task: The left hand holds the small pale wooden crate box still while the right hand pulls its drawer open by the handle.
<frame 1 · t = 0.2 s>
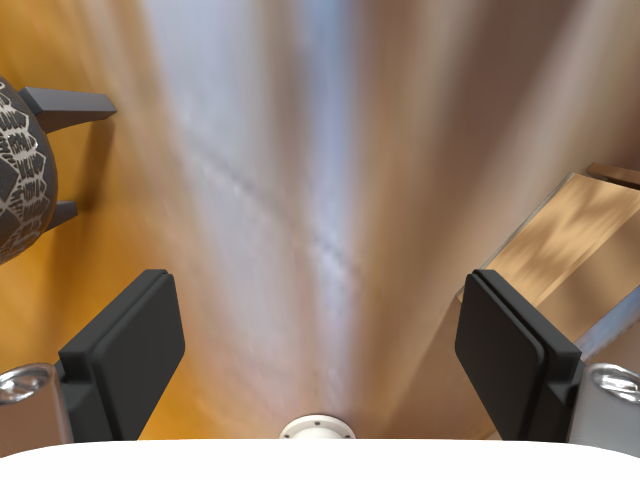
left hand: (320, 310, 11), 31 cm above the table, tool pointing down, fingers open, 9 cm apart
planter: (53, 141, 39), on the table
drawer: (592, 233, 38), point 5 cm above the table, slide at 0.8 cm
wooden crate box: (527, 251, 44), on the table
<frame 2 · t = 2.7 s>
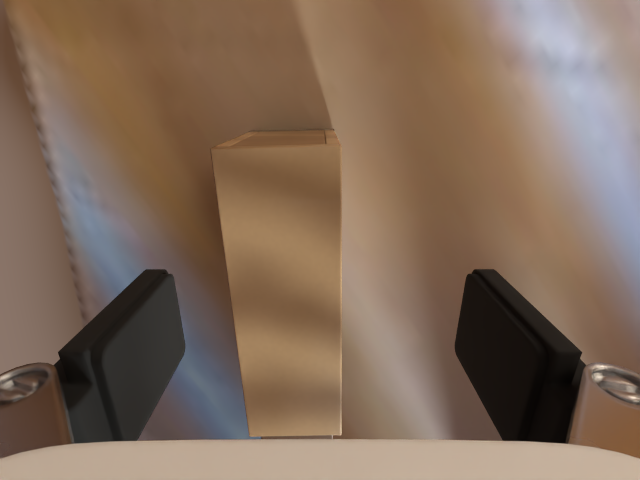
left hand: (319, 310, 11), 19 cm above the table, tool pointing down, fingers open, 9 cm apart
drawer: (296, 334, 28), point 5 cm above the table, slide at 0.8 cm
wooden crate box: (297, 246, 31), on the table
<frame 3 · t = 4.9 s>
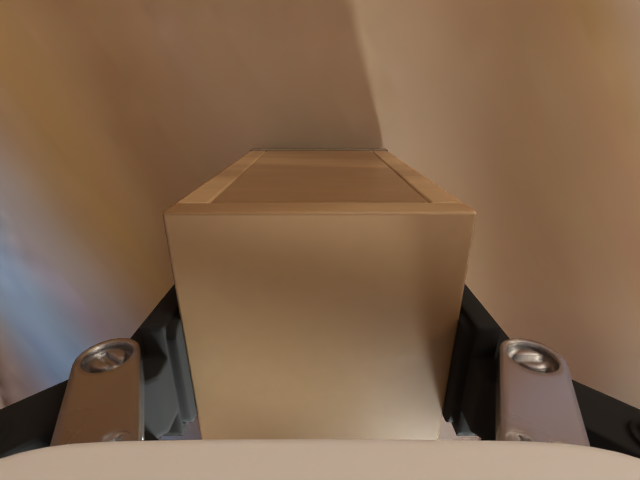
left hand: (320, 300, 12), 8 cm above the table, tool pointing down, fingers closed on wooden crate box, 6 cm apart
wooden crate box: (319, 318, 21), on the table, touching left hand
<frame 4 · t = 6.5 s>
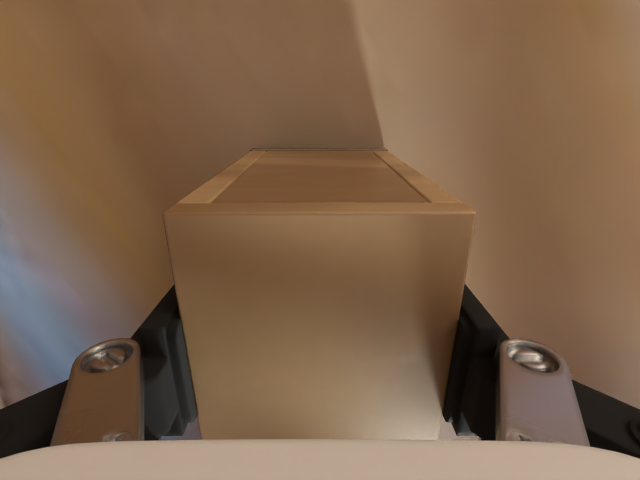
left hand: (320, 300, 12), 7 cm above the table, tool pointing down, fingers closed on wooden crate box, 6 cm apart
wooden crate box: (319, 318, 21), on the table, touching left hand
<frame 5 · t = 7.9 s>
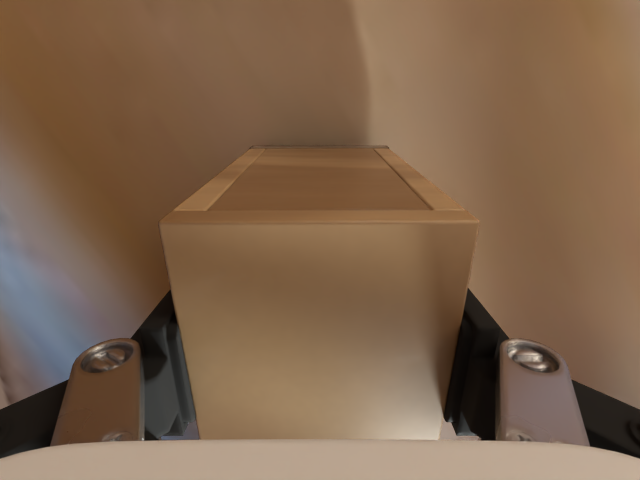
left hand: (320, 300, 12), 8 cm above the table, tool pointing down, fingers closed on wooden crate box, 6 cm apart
wooden crate box: (319, 316, 21), on the table, touching left hand
when the left hand's fingers open (8 cm above the table, at t = 9.7 s): wooden crate box stays where it is, on the table.
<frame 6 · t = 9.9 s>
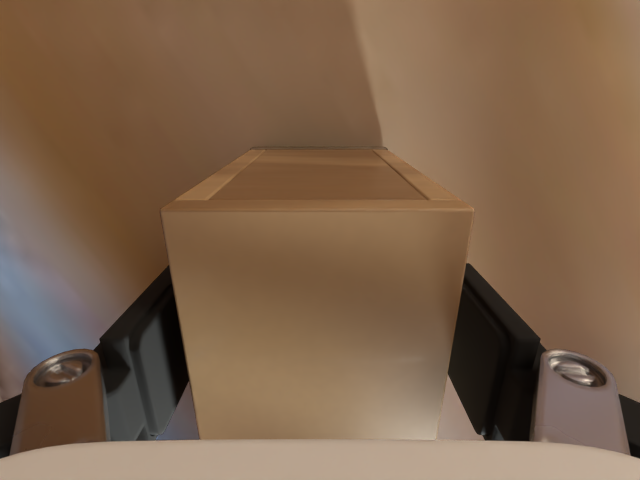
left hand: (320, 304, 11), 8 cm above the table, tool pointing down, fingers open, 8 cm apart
wooden crate box: (319, 317, 21), on the table
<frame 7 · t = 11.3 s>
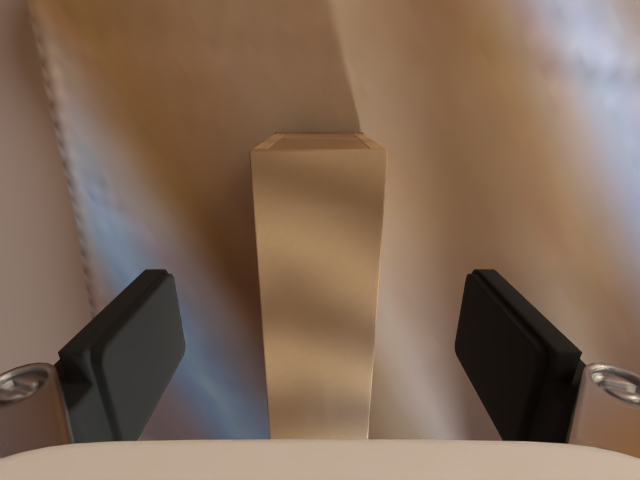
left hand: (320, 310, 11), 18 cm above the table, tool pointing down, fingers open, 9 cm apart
wooden crate box: (319, 252, 30), on the table
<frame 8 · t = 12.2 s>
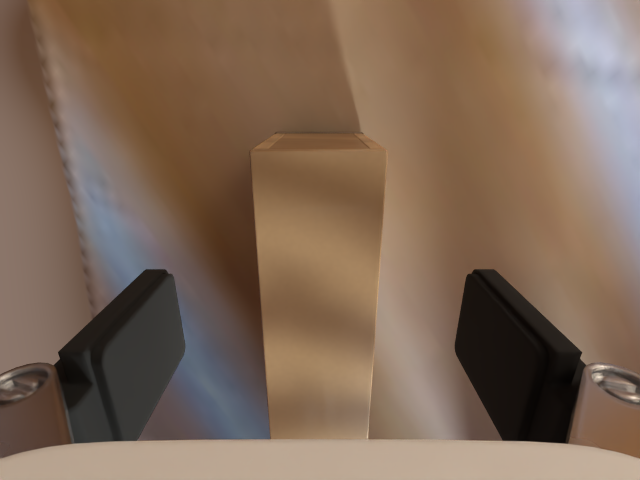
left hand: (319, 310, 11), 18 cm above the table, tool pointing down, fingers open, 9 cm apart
wooden crate box: (319, 252, 30), on the table
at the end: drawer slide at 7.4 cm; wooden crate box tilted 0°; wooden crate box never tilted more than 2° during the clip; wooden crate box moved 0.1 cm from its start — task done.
